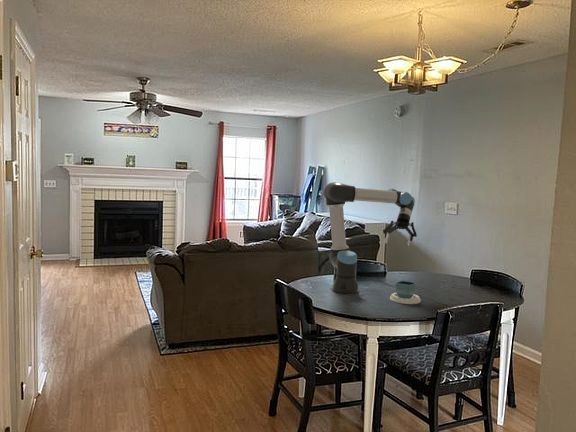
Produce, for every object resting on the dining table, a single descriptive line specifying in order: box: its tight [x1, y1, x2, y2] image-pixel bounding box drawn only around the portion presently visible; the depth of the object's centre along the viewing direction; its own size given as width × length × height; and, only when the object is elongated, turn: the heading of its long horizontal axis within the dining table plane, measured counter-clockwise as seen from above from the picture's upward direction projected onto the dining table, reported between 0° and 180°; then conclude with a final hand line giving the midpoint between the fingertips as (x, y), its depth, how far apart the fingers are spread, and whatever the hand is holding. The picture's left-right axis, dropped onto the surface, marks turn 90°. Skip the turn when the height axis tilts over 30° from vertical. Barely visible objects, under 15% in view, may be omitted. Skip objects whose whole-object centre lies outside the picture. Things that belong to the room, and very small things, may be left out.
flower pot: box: [395, 280, 417, 299], centre depth 278 cm, size 9×9×9 cm
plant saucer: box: [389, 292, 422, 305], centre depth 279 cm, size 17×17×2 cm
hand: (396, 243), depth 294 cm, fingers open, 13 cm apart
